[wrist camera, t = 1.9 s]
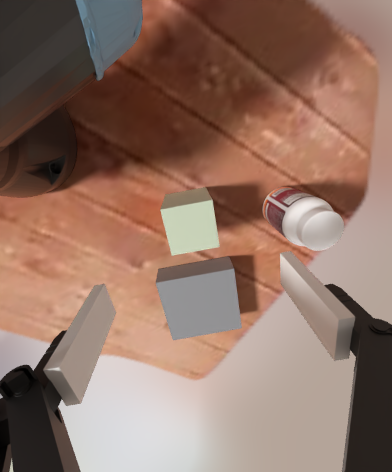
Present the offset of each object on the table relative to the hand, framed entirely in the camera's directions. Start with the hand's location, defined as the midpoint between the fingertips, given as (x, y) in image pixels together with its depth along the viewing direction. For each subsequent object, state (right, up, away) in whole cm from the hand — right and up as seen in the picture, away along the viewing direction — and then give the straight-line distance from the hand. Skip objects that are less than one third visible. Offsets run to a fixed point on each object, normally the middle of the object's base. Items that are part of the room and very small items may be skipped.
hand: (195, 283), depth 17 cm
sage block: (-1, +7, +17) cm, 19 cm away
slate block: (+1, -6, +23) cm, 24 cm away
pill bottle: (+13, +8, +18) cm, 24 cm away
